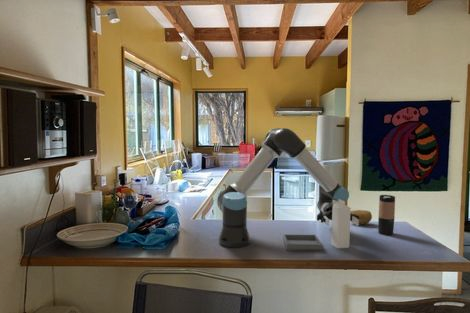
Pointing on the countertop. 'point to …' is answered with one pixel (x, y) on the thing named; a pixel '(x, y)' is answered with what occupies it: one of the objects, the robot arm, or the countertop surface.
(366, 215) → the potato
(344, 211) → the milk
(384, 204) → the travel mug
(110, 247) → the countertop surface
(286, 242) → the tray
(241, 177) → the robot arm
